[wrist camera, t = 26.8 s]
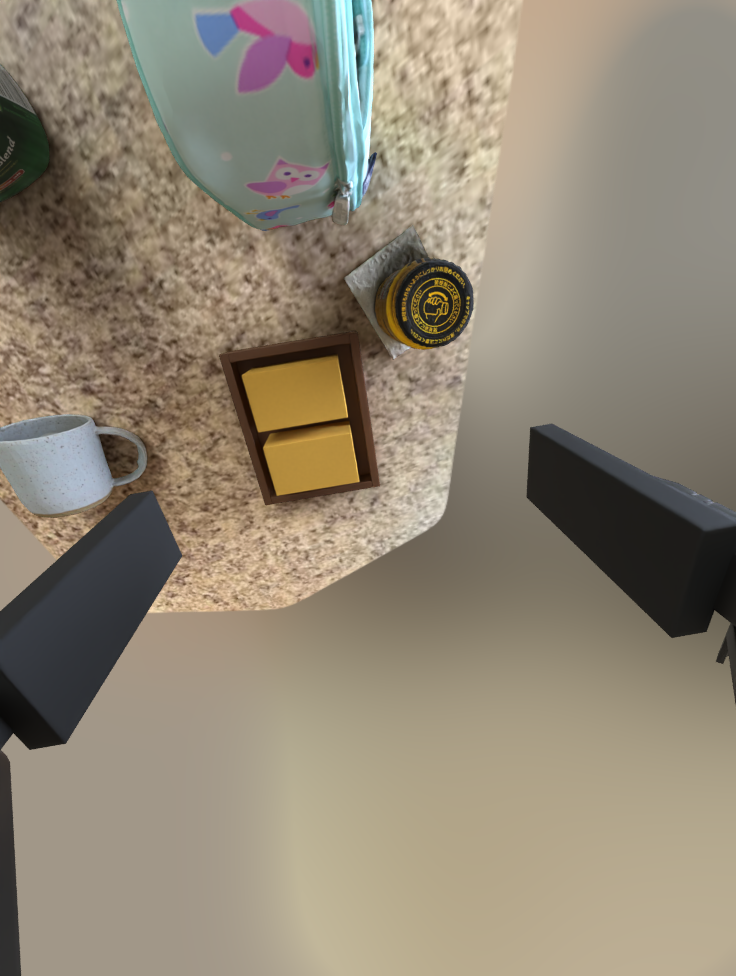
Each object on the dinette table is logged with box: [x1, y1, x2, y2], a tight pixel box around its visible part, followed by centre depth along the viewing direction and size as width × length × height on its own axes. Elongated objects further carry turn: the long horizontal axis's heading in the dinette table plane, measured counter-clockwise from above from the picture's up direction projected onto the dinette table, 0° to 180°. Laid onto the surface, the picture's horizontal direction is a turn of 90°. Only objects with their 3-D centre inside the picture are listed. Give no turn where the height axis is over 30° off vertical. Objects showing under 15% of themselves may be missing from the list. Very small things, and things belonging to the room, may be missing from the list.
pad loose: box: [242, 354, 348, 432], centre depth 35 cm, size 8×5×4 cm, turn 98°
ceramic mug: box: [0, 414, 147, 518], centre depth 35 cm, size 11×8×8 cm
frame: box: [219, 331, 380, 505], centre depth 37 cm, size 13×16×3 cm
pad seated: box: [263, 421, 359, 496], centre depth 38 cm, size 8×5×4 cm, turn 98°
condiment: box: [344, 225, 473, 360], centre depth 29 cm, size 7×8×12 cm
